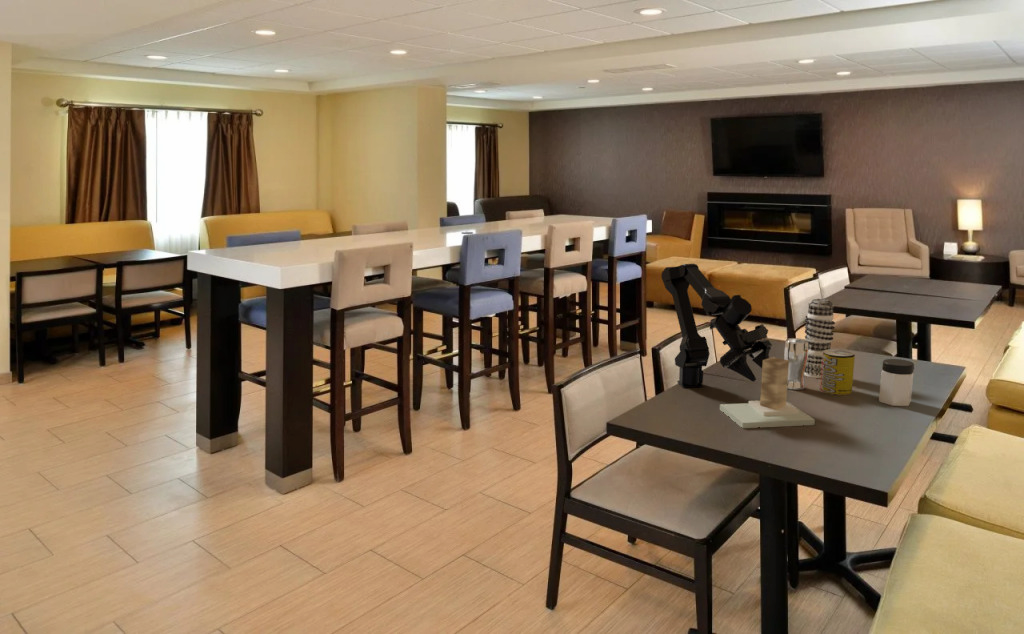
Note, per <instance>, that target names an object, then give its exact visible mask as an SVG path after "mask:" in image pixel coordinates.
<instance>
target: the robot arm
mask: <svg viewBox="0 0 1024 634" xmlns="http://www.w3.org/2000/svg"><path fill="white" fill-rule="evenodd" d="M660 277H661V281H662V283H663V284H664V288H665V290H667V292H668V293H670V295H671V296H672V299H673V304H674V308H675V312H676V317H677V321H678V324H679V329H680V333H681V337H682V338H681V341H680V344H679V352H678V354H677V355H676V356H675V357H674V365H675V366H677V367H679V372H678V374H679V375H678V377H679V378H678V380H677V381H676V383H678V384H679V385H680V386H681V387H682V388H703V387H704V370H703V367H707V366H708V361H709V358H710V354H711V353H710V348H709V345H708V340H707V337H705V336H701V335H700V334H699V332H698V327H697V324H696V320H695V316H694V313H693V312H694V311H693V307H692V303H691V298H690V295H689V291H688V290H689V288H690V286H691V287H692V289H693V290H694V291H695V293H696V294H697V295H698V296H699V297H700V299H701V303H700V305H701V306H702V307H701V308H702V309H703V310H704V312H705V313H706V315H708V316H716V317H714V318H712V319H710V320H709V321H710V323H709V329H710V330H713V329H716V330H717V332H718V333H719V335H720V336H721V338H722V339H723V341H722V343H721V344H723V345H724V346H726V345H727V346H728V348H729V350H727V352H724V354H722V356H721V357H719V363H720V365H721V367H723V368H726V369H728V370H731V371H733V372H735V373H737V374H739V375H741V376H742V377H743V378H746V379H748V380H750V382H755V381H756V380H757V377H756V376H755V374H754V373H753V370H752V369H751V367H750V366H749V364H748V362H747V356H749V357H750V358H752V359H751V361H752V362H753V363H755V364H756V365H757V366H759V367H760V368H761V369H762V364H763V360H765V359H768V358H770V356H769V355H770V351H771V349H772V346H773V344H772V343H771V341H770V340H769V339H767V338H768V333H769V329H768V328H767V327H766V326H765V325H764V324H763V323H762V324H758V325H755V327H754V329H753V330H748V329H747V328H741V326H740V324H742V322H744V320H745V319H746V318H747V317H748V316H749V314H750V315H751V312H752V309H753V308H752V307H753V306H752V304H751V303H750V302H749V301H747V300H746V299H745V298H742V296H741V294H733V296H731V297H730V295H728V294H727V293H726V292H724V291H723V290H720V289H717V288H716V287H715V286H714V285H713V284H712V283H711V282H710V280H709V279H708V278H707V277H706V276H705V275H704V274H703V272H702V271H701V270H700V269H699V265H698V264H695V263H682V264H681V265H678V266H667V267H665V268H664V269H663V271H662V272H661V276H660Z"/></svg>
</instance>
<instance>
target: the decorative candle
mask: <svg viewBox="0 0 1024 634" xmlns="http://www.w3.org/2000/svg"><path fill="white" fill-rule="evenodd" d="M807 305H808V311H807V315H805V320H804V322H805V323H806V324H805V325H804V328H805V329H804V333H805V335H804V339H805V340H808V360H807V365H806V369H805V373H804V377H805V376H806V377H808V378H812V379H813V378H815V379H821V370H822V357H823V351H824V350H829V349H831V346H832V345H831V343H832V342H833V340H834V337H833V336H834V335H835V334H834V332H833V331H832V330H834V329H835V328H836V327H835V326H834V325H835V324H836V322H835V321H834V307H835V306H836V305H835V304H833V301H831V300H830V299H827V298H826V299H824V298H814V299H812V300H811V301H810V302H809V303H808V304H807Z"/></svg>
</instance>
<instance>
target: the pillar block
mask: <svg viewBox="0 0 1024 634" xmlns="http://www.w3.org/2000/svg"><path fill="white" fill-rule="evenodd" d="M788 368H789V360H784V358H779V357H774V356H772V357H769V358H768V359H765V360H763V364H762V368H761V385H760V399H759V401H760V406H764V407H768V408H772V409H776V410H777V409H779V408H782V407H784V406H786V402H787V398H788V389H787V383H788Z"/></svg>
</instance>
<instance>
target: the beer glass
mask: <svg viewBox="0 0 1024 634" xmlns="http://www.w3.org/2000/svg"><path fill="white" fill-rule="evenodd" d="M784 344H785V345H784V354H783V356H784V358H783V359H784V360H789V368H788V383H787V390H791V391H801V390H802V391H803V390H804V389H805V381H804V380H805V379H804V378H805V375H804V373H805V369H806V365H807V360H808V340H805V338H797V337H795V338H793V337H791V338H786V339H785V343H784Z"/></svg>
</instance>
